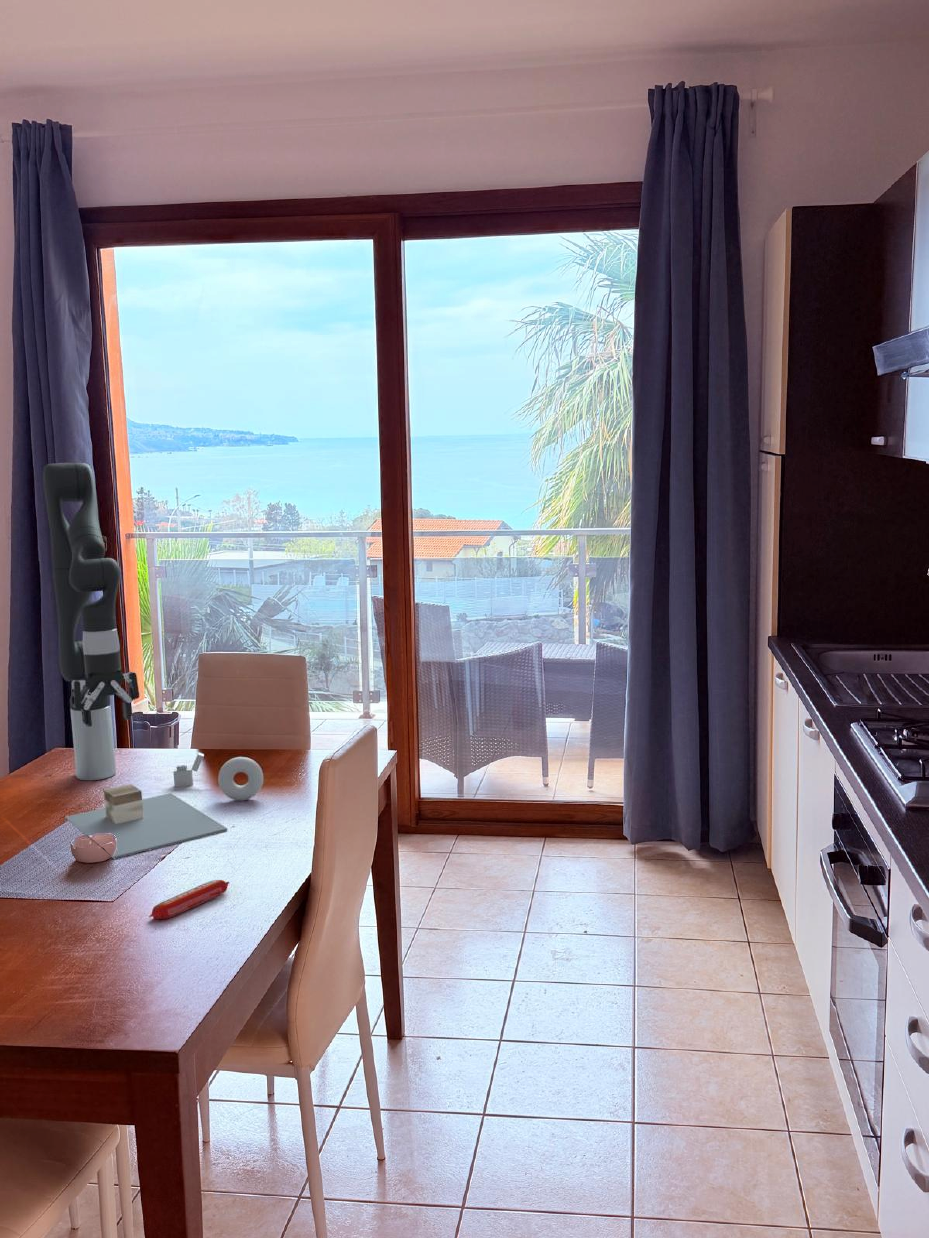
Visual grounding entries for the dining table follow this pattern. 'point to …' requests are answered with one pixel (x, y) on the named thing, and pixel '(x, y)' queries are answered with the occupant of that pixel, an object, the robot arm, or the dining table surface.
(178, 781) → the lighter
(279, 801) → the dining table surface
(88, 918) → the dining table surface
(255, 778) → the donut
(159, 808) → the mat
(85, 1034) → the dining table surface
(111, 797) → the block
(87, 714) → the robot arm
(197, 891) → the packaged sausage
